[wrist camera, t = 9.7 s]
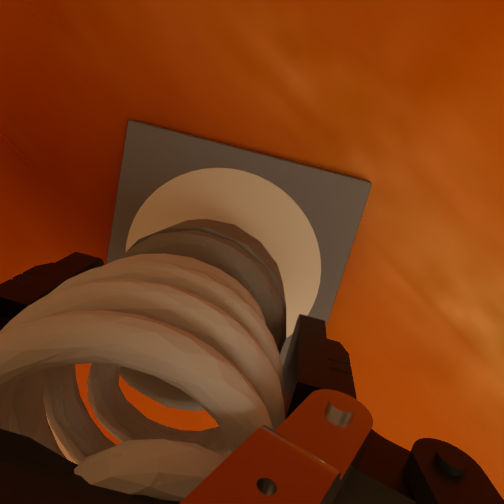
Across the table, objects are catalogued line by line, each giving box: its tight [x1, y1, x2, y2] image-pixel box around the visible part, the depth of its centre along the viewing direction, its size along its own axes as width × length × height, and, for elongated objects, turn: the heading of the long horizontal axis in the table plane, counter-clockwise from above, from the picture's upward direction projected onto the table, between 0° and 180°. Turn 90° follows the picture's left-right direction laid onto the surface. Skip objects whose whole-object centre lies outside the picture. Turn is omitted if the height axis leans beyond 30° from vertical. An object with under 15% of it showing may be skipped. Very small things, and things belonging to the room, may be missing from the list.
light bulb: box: [0, 219, 286, 502], centre depth 11 cm, size 6×6×12 cm
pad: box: [106, 120, 372, 367], centre depth 18 cm, size 9×9×1 cm
